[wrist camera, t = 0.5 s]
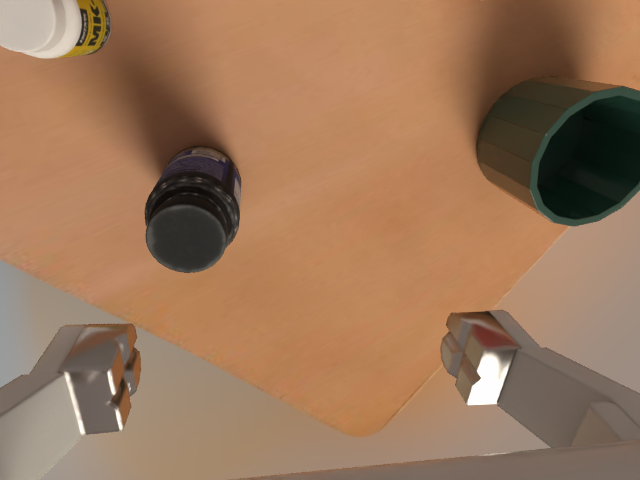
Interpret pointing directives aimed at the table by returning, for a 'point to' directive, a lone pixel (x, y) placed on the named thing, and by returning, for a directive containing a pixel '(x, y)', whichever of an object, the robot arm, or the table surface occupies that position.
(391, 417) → the table surface
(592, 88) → the green cup
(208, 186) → the pill bottle
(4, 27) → the supplement bottle
